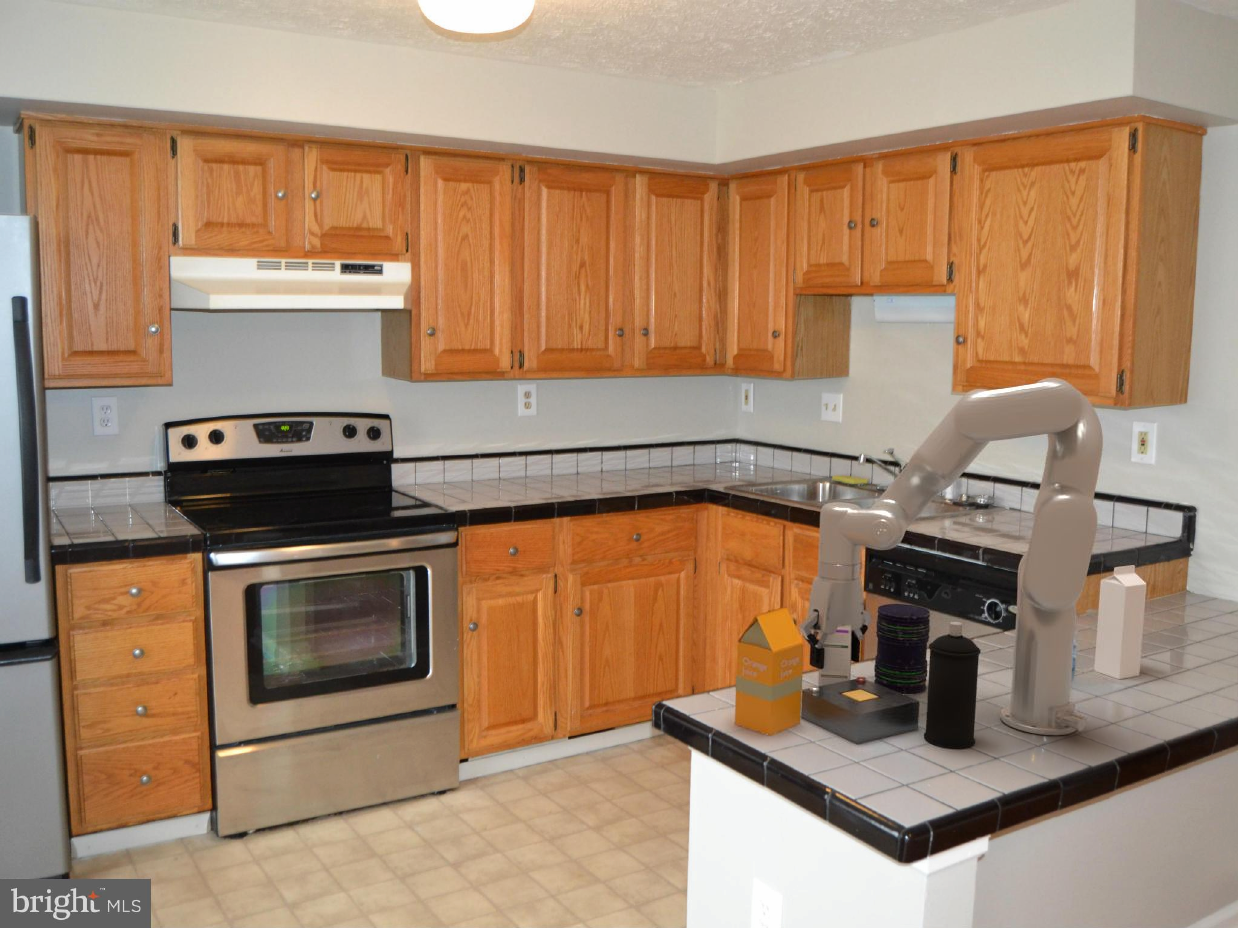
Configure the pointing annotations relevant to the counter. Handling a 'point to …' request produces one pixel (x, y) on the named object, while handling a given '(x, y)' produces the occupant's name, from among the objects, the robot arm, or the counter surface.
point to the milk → (1120, 624)
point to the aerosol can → (952, 690)
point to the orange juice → (769, 673)
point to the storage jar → (902, 648)
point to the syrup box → (836, 657)
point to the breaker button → (860, 695)
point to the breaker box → (860, 710)
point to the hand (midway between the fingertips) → (834, 663)
